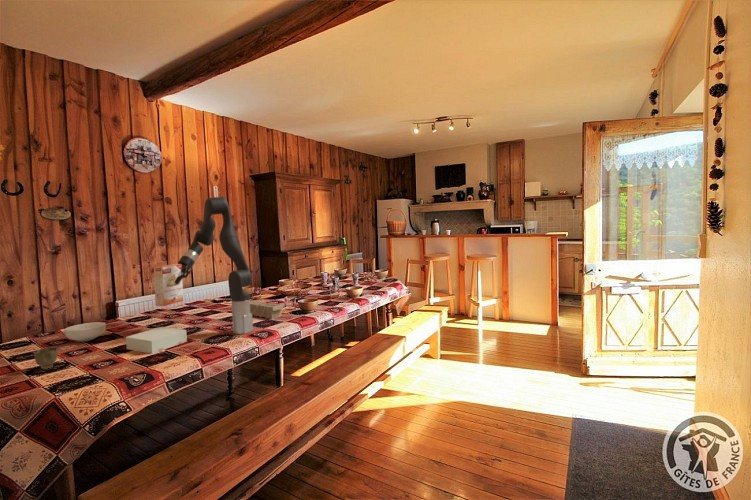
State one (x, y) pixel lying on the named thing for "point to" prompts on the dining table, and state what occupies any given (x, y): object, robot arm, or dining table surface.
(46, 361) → the cup
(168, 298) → the cracker box
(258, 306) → the block tower
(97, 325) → the cereal bowl
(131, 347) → the pale square block
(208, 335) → the dining table surface
